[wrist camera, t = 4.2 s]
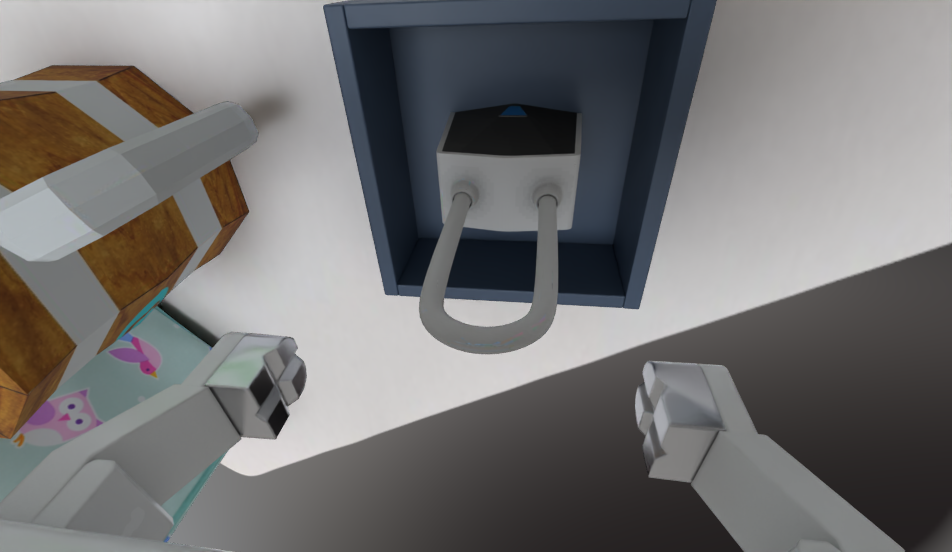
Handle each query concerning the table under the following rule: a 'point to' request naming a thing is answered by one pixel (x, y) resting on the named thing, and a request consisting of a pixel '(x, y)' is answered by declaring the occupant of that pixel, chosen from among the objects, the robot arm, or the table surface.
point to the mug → (101, 215)
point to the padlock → (503, 209)
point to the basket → (530, 83)
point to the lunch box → (110, 400)
